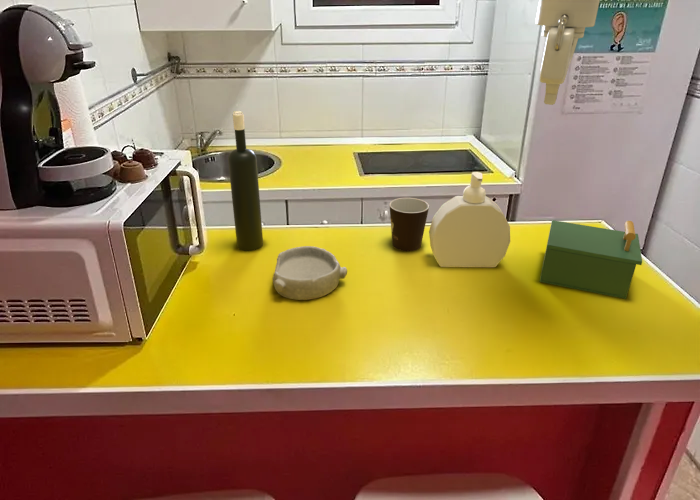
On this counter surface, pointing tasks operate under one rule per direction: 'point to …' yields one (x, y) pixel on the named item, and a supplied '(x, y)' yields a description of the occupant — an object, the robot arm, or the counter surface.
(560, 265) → the green box
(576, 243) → the lid
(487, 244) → the soap bottle
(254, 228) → the wine bottle
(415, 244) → the coffee mug
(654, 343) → the counter surface
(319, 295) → the dish
